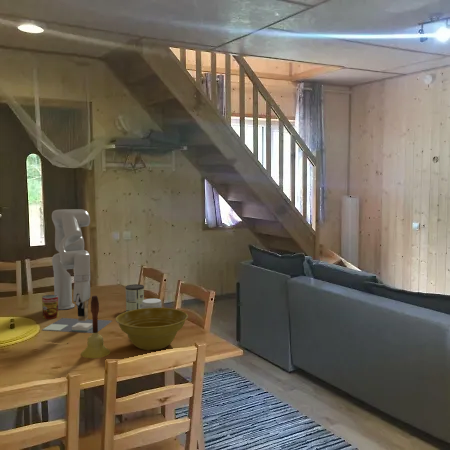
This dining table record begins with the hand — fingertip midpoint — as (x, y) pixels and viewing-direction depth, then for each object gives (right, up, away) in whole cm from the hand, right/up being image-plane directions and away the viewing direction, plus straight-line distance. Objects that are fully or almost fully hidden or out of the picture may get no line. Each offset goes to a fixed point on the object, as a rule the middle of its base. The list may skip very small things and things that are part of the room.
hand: (83, 314), depth 252 cm
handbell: (+14, -11, -32) cm, 37 cm away
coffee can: (+19, -5, +38) cm, 43 cm away
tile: (0, -6, +3) cm, 7 cm away
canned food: (-23, -6, +21) cm, 32 cm away
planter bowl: (+37, -10, -21) cm, 44 cm away
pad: (-14, -7, +2) cm, 16 cm away
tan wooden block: (0, -3, 0) cm, 3 cm away
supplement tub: (+34, -8, +3) cm, 35 cm away
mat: (-4, -7, +6) cm, 11 cm away
